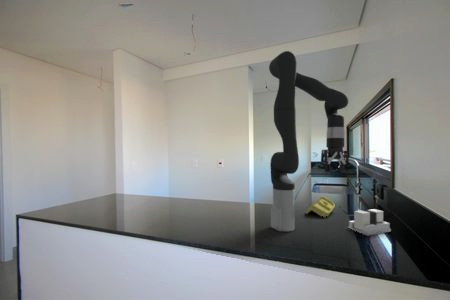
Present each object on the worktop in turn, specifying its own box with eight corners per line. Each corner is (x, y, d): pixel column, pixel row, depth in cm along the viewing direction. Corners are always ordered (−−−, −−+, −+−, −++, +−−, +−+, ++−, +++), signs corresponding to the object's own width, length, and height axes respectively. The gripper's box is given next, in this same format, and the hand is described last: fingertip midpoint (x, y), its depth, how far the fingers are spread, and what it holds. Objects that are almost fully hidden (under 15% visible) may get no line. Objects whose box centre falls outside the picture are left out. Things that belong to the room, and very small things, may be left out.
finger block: (363, 230, 95) (363, 213, 95) (354, 227, 98) (354, 211, 98) (370, 229, 96) (370, 212, 96) (361, 226, 100) (361, 210, 100)
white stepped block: (367, 235, 92) (367, 215, 92) (347, 228, 100) (348, 210, 100) (390, 231, 97) (390, 212, 97) (370, 225, 105) (370, 207, 105)
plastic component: (328, 214, 115) (309, 203, 120) (321, 225, 118) (303, 214, 123) (336, 204, 131) (320, 194, 136) (330, 214, 133) (314, 204, 138)
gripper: (329, 136, 101) (328, 173, 101) (353, 137, 106) (353, 173, 106) (317, 137, 108) (316, 171, 108) (340, 138, 113) (340, 171, 113)
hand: (334, 172), depth 107 cm, fingers open, 8 cm apart
